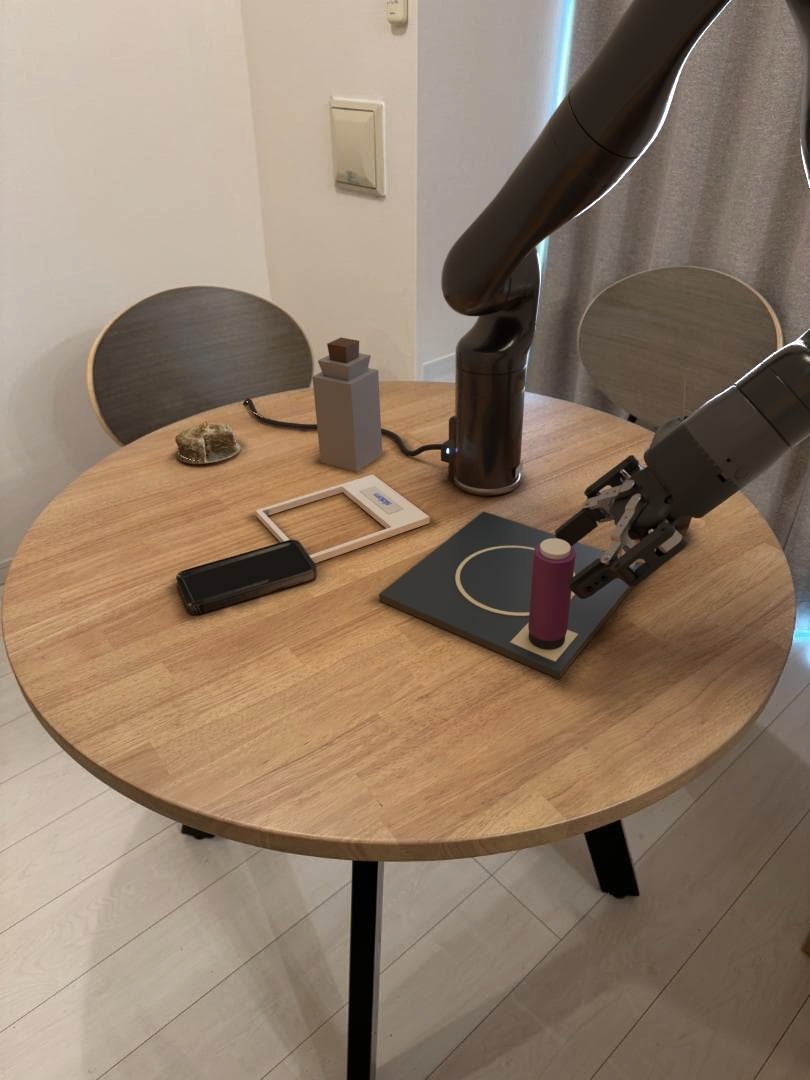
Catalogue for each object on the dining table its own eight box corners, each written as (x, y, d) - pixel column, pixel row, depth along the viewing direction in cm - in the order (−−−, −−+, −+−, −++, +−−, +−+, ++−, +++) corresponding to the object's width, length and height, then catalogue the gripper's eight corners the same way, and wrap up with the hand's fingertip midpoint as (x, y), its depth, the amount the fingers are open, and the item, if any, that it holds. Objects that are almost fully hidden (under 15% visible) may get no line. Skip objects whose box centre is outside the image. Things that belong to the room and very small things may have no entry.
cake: (163, 462, 115) (154, 429, 112) (209, 439, 122) (202, 408, 119) (209, 471, 110) (201, 437, 107) (254, 446, 117) (248, 414, 114)
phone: (174, 572, 86) (296, 537, 91) (176, 580, 86) (297, 545, 91) (188, 609, 79) (319, 569, 85) (191, 617, 80) (320, 577, 85)
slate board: (379, 600, 82) (378, 592, 81) (483, 517, 97) (483, 510, 96) (559, 679, 70) (560, 670, 70) (646, 571, 85) (647, 563, 85)
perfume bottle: (382, 454, 114) (376, 339, 104) (356, 472, 109) (348, 352, 99) (347, 445, 117) (338, 332, 107) (320, 462, 112) (309, 345, 102)
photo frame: (429, 515, 95) (302, 559, 87) (429, 522, 96) (303, 567, 88) (372, 473, 106) (255, 509, 98) (373, 480, 106) (256, 516, 98)
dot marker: (520, 641, 74) (527, 549, 68) (538, 621, 76) (546, 531, 70) (554, 655, 72) (564, 562, 66) (572, 635, 74) (583, 543, 68)
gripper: (665, 392, 67) (531, 503, 74) (716, 461, 55) (550, 586, 62) (713, 445, 70) (580, 547, 77) (771, 521, 58) (607, 635, 64)
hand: (567, 564), depth 69 cm, fingers open, 8 cm apart
